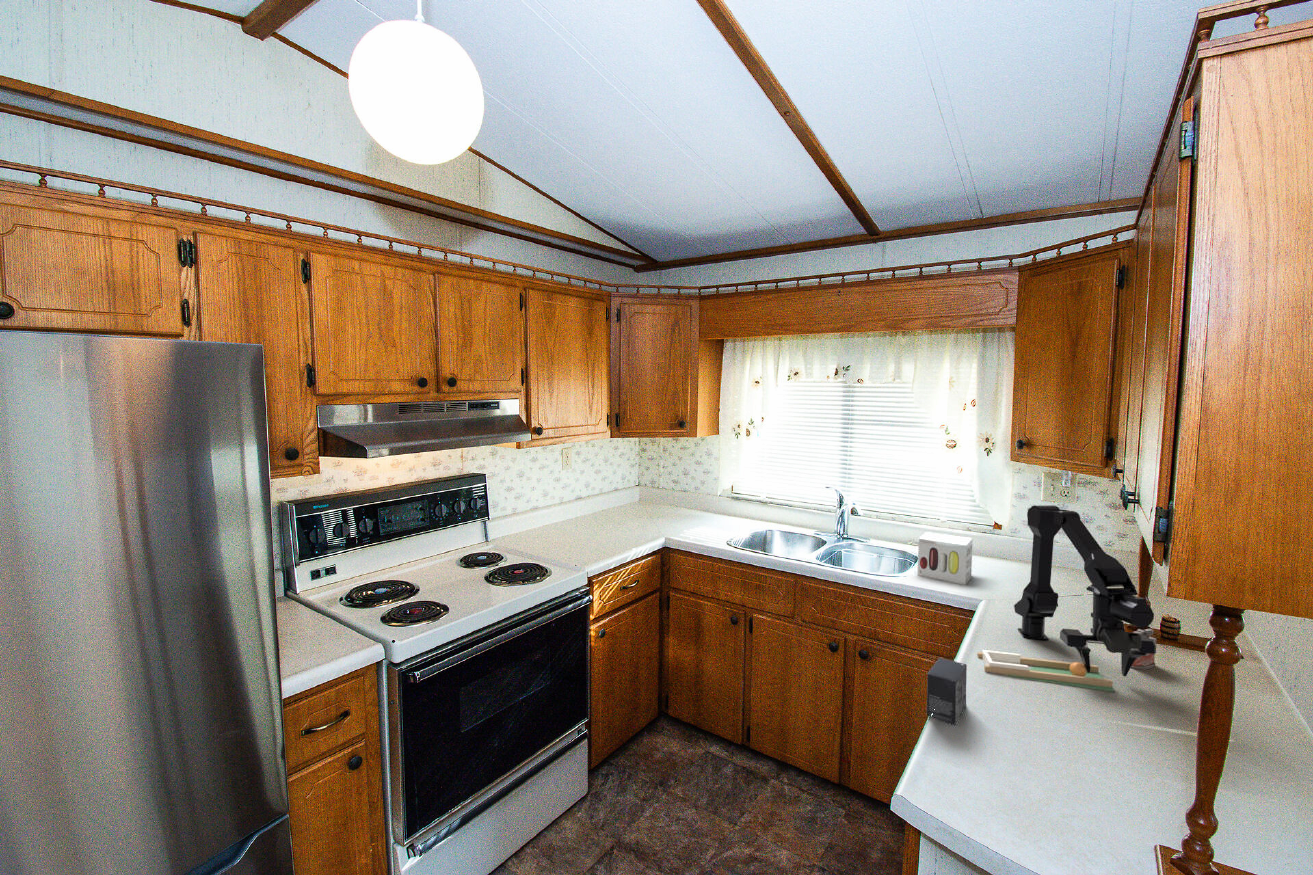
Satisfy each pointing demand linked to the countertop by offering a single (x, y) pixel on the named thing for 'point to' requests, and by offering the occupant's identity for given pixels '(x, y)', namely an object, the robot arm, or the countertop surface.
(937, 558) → the supplement box
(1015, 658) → the white u-shaped frame
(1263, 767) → the countertop surface
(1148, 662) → the lighter
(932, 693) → the small box
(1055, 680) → the track
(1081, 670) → the ball
